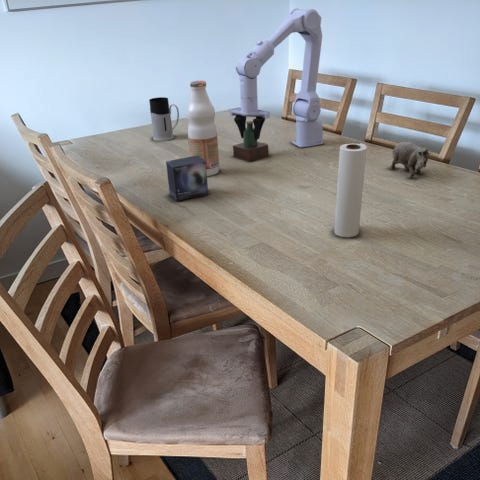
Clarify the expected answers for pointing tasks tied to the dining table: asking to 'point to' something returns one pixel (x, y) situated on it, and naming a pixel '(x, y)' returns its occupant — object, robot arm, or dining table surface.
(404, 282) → the dining table surface
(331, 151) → the dining table surface
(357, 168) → the paper towel roll
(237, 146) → the block
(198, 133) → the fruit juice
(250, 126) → the bottle
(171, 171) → the small box
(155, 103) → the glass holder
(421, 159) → the rhinoceros figurine
